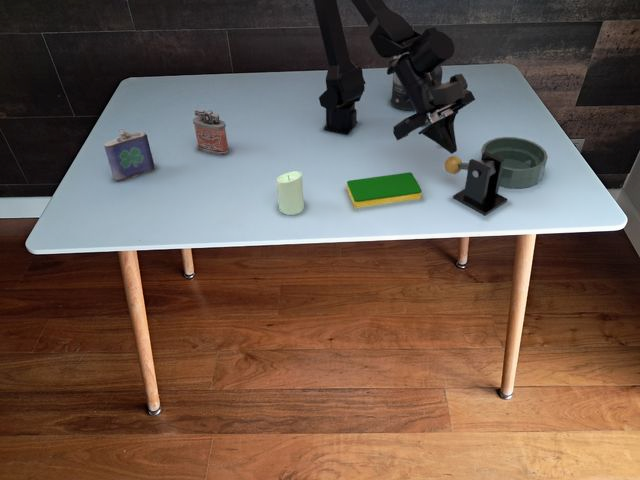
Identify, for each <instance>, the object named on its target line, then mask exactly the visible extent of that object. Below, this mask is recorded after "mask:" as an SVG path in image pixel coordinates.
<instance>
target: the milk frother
mask: <svg viewBox="0 0 640 480" xmlns="http://www.w3.org/2000/svg"><path fill="white" fill-rule="evenodd" d="M404 54H409V52H406V53H403V54H401V55H398V56H393V57H392V60H393V59H395V58H397V59H399V58H400V57H401V56H402V55H404ZM429 74H430V76H431V78H432V79H435V78H437V79H439V81H440V83H441V84H443V83H442V81H443V67H442V65H441V66H439V67H438V68H437V69H435V70H434V71H433V72H431V73H429ZM406 95H407V94H406V92H405V90H404V88H403V86H402V85H401V83H400V81H399V79H398V77H397V75H396V73H393V74H392V87H391V98H390V104H391V106H392V107H393V108H396V109H397V110H402V111H415V109H414V107H413V105H412V103H411V101H410V100H409V101H407V102H406V101H405V99H404V98H403V97H405V96H406Z"/></svg>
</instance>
